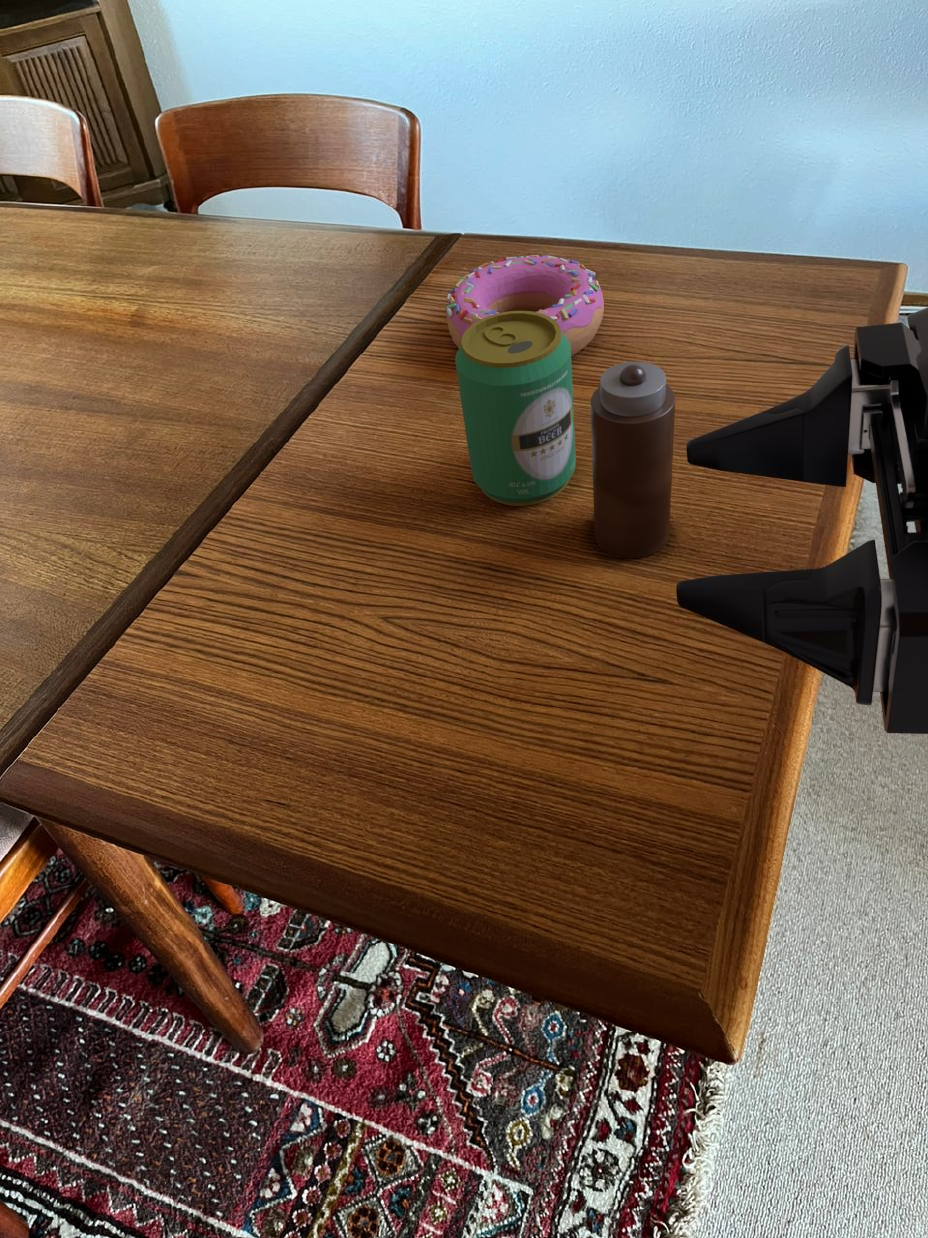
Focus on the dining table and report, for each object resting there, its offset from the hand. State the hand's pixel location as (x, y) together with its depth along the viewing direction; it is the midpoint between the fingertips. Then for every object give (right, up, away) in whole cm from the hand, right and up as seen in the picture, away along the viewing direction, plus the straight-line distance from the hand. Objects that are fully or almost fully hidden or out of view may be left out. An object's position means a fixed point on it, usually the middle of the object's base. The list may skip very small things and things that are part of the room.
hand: (682, 517), depth 40 cm
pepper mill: (+3, +2, +26) cm, 26 cm away
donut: (-3, +22, +47) cm, 52 cm away
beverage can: (-5, +7, +32) cm, 33 cm away
